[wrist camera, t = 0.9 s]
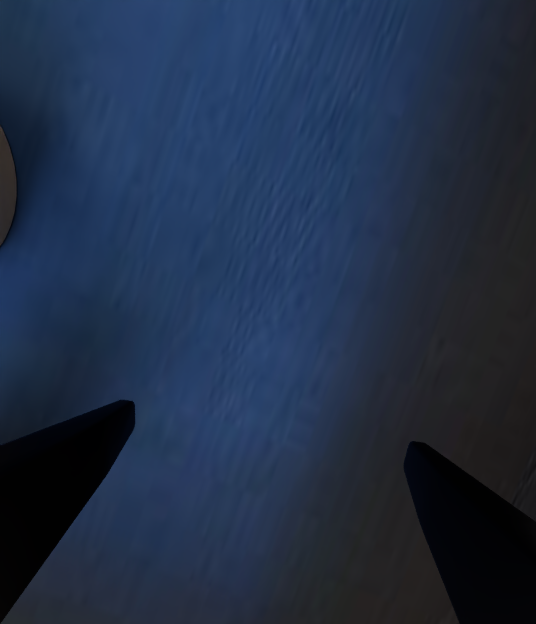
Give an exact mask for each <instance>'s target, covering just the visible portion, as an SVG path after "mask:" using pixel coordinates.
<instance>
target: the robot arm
mask: <svg viewBox="0 0 536 624" xmlns="http://www.w3.org/2000/svg"><path fill="white" fill-rule="evenodd" d="M134 427H135V404H134V402H133V401H129V400H119V401H116V402H113V403H111V404H108V405H105V406H103V407H100V408H98V409H95V410H92V411H90V412H87V413H84V414H82V415H79V416H76V417H74V418H71V419H68V420H66V421H63V422H61V423H58V424H55V425H53V426H50V427H47V428H45V429H42V430H39V431H37V432H34V433H32V434H29V435H26V436H24V437H21V438H18V439H16V440H13V441H10V442H8V443H5V444H2V445H0V623H1V622H2V621H3V619H4V618H5V616H6V615H7V614H8V612H9V611H10V609H11V608H12V607H13V605H14V604H15V602H16V601H17V600H18V598H19V597H20V595H21V594H22V593H23V591H24V590H25V588H26V587H27V586H28V584H29V583H30V582H31V580H32V579H33V577H34V576H35V575H36V573H37V572H38V570H39V569H40V568H41V566H42V565H43V563H44V562H45V561H46V559H47V558H48V556H49V555H50V554H51V552H52V551H53V549H54V548H55V547H56V545H57V544H58V542H59V541H60V540H61V538H62V537H63V535H64V534H65V533H66V531H67V530H68V528H69V527H70V526H71V524H72V523H73V521H74V520H75V519H76V517H77V516H78V514H79V513H80V512H81V510H82V509H83V507H84V506H85V505H86V503H87V502H88V501H89V499H90V498H91V496H92V495H93V494H94V492H95V491H96V489H97V488H98V487H99V485H100V484H101V482H102V481H103V479H104V478H105V477H106V475H107V474H108V472H109V470H110V469H111V467H112V465H113V464H114V462H115V460H116V459H117V457H118V455H119V453H120V452H121V450H122V448H123V447H124V445H125V443H126V442H127V440H128V438H129V436H130V435H131V433H132V431H133V429H134ZM404 472H405V475H406V478H407V482H408V485H409V488H410V492H411V495H412V499H413V502H414V505H415V509H416V512H417V515H418V519H419V522H420V525H421V527H422V530H423V533H424V535H425V538H426V540H427V543H428V545H429V548H430V550H431V553H432V555H433V558H434V560H435V563H436V565H437V568H438V570H439V573H440V575H441V578H442V580H443V583H444V585H445V588H446V590H447V593H448V595H449V598H450V600H451V603H452V606H453V608H454V611H455V613H456V616H457V618H458V621H459V623H460V624H536V522H535V521H534V520H532V519H531V518H530V517H528V516H527V515H525V514H524V513H523V512H521V511H520V510H518V509H517V508H515V507H514V506H513V505H511V504H510V503H508V502H507V501H506V500H504V499H503V498H501V497H500V496H499V495H497V494H496V493H494V492H493V491H492V490H490V489H489V488H487V487H486V486H485V485H483V484H482V483H480V482H479V481H478V480H476V479H475V478H473V477H472V476H471V475H469V474H468V473H466V472H465V471H464V470H462V469H461V468H459V467H458V466H457V465H455V464H454V463H452V462H451V461H450V460H448V459H447V458H445V457H444V456H443V455H441V454H440V453H438V452H437V451H436V450H434V449H433V448H431V447H430V446H429V445H427V444H426V443H422V442H415V441H412V442H410V443H409V445H408V449H407V453H406V456H405V460H404Z"/></svg>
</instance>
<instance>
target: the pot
mask: <svg viewBox="0 0 536 624" xmlns="http://www.w3.org/2000/svg"><path fill="white" fill-rule="evenodd" d="M16 198H17V179H16V172H15V165H14V161H13V157H12V153H11V150H10V146H9V144H8V141H7V139H6V136H5V134H4V131H3V129H2V127H1V125H0V246H1V245H2V243H3V241H4V240H5V238H6V236H7V233H8V231H9V229H10V227H11V224H12V220H13V216H14V213H15V206H16Z"/></svg>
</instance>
